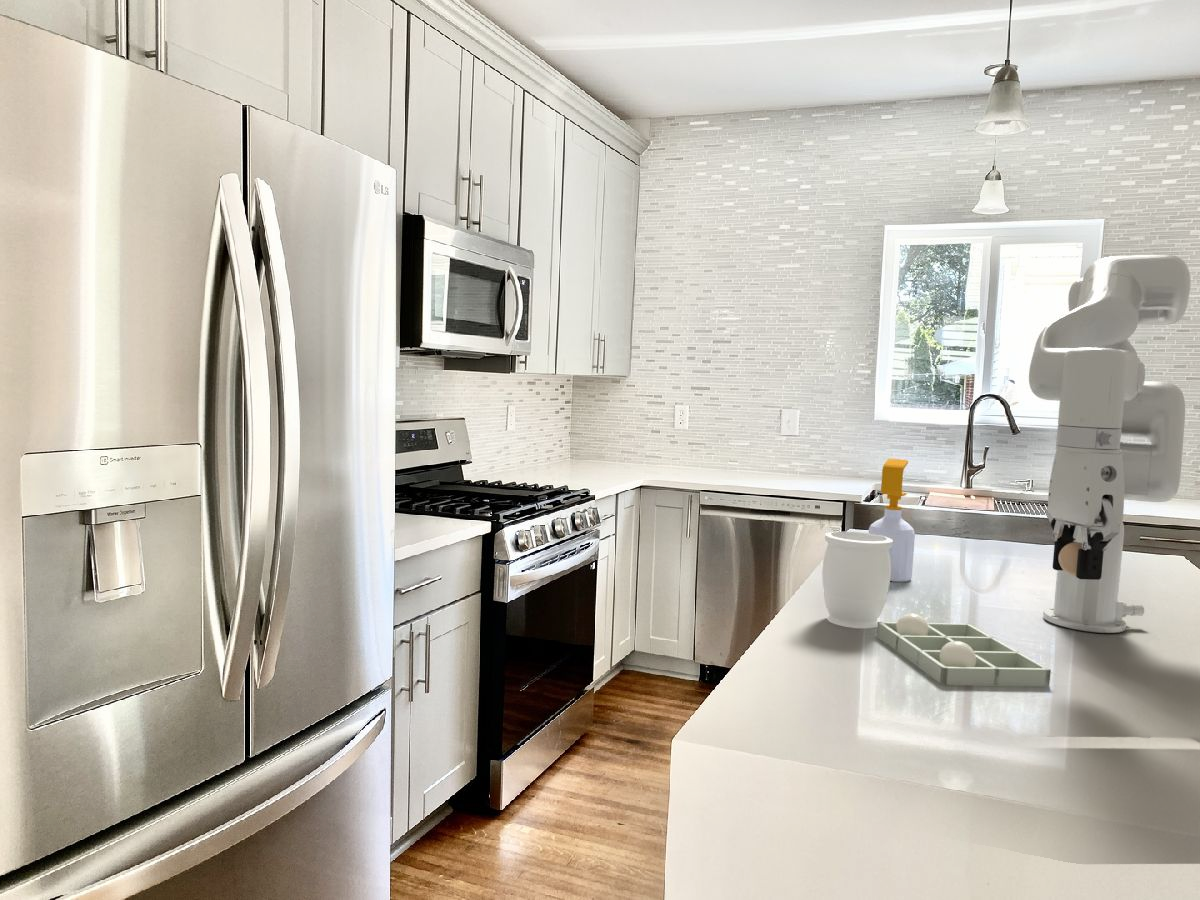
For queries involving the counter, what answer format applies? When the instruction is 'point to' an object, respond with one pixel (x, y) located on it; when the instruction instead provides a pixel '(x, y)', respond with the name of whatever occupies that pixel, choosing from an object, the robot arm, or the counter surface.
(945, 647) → the cream egg
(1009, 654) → the egg tray
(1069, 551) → the brown egg
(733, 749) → the counter surface
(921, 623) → the cream egg
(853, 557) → the jar
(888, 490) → the soap bottle
